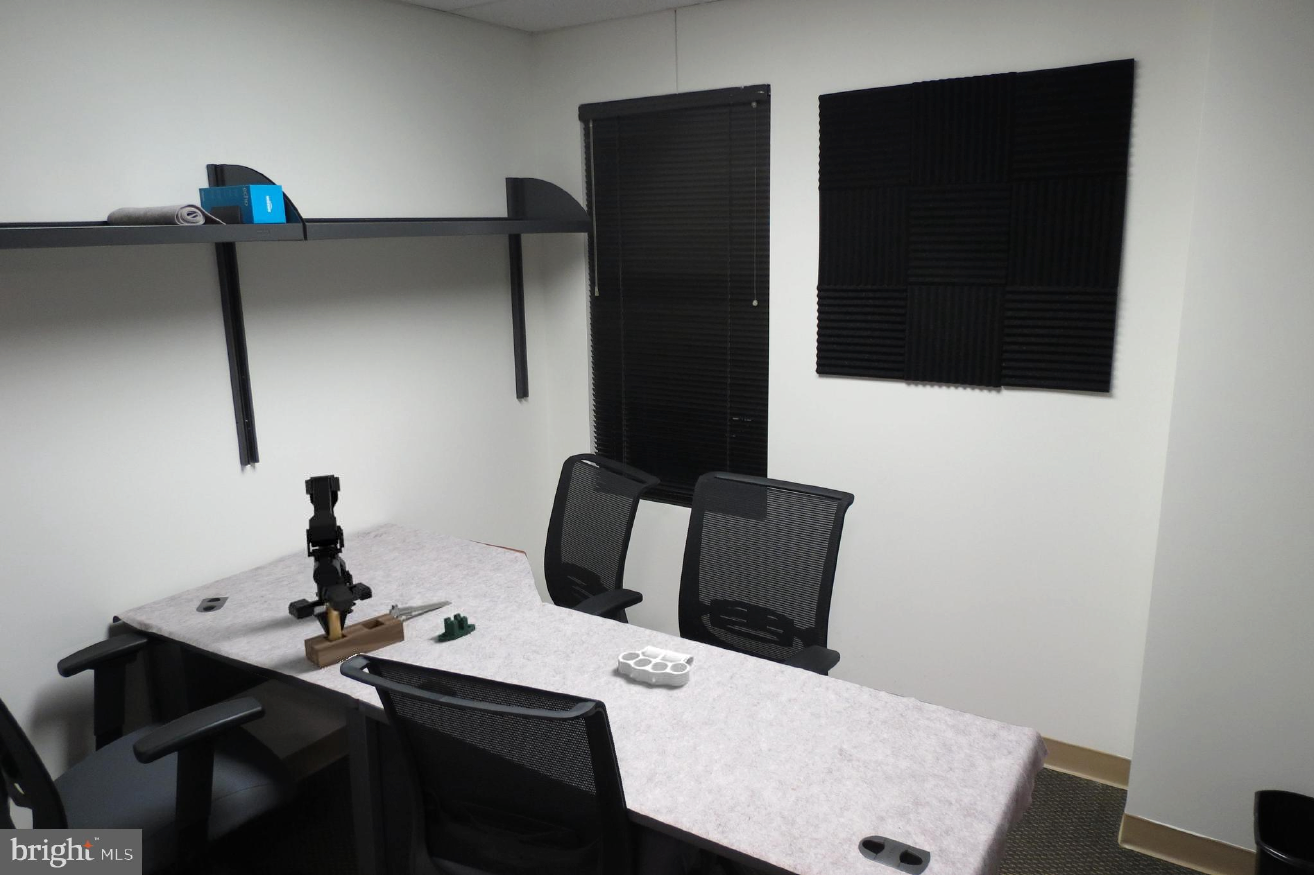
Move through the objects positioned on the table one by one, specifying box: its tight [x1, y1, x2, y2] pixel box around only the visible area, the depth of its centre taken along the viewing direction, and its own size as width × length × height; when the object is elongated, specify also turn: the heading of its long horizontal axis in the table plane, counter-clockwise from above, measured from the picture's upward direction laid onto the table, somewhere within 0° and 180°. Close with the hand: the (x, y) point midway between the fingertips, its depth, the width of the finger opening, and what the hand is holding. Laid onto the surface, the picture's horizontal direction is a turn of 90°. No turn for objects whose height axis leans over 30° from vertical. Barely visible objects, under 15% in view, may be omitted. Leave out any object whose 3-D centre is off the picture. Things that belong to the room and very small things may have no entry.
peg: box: [324, 605, 342, 643], centre depth 218 cm, size 3×3×9 cm
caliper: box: [388, 599, 453, 621], centre depth 243 cm, size 20×1×6 cm, turn 143°
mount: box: [437, 613, 476, 643], centre depth 230 cm, size 11×4×5 cm, turn 137°
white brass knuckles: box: [617, 645, 694, 687], centre depth 208 cm, size 3×18×15 cm
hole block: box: [303, 612, 405, 670], centre depth 223 cm, size 8×22×5 cm, turn 134°
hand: (334, 633), depth 219 cm, fingers closed on peg, 3 cm apart
